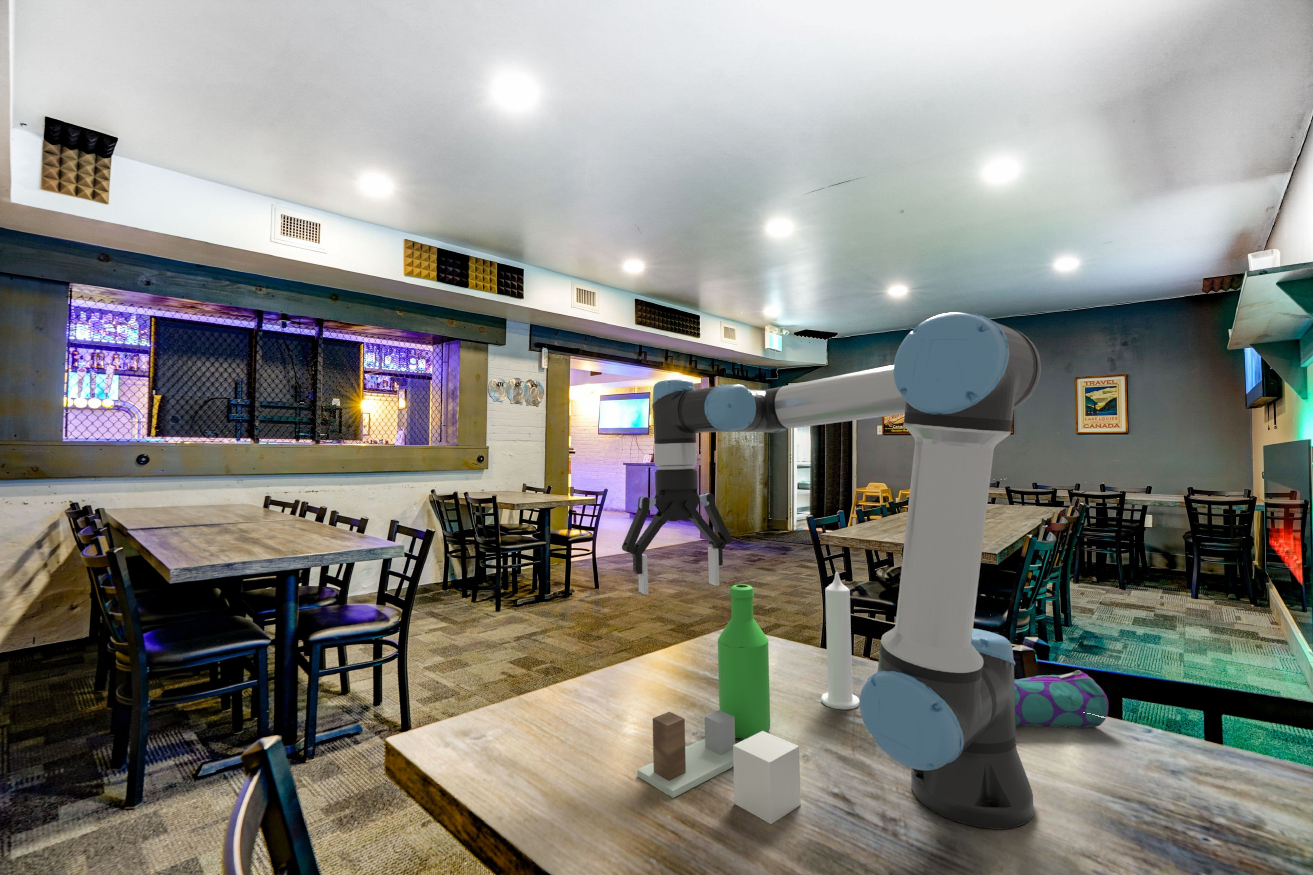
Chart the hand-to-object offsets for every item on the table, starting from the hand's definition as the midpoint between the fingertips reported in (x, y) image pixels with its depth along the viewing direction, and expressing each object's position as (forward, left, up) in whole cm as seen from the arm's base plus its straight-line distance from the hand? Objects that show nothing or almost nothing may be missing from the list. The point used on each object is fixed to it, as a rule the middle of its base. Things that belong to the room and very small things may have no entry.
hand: (679, 588), depth 108 cm
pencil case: (-40, -46, -25) cm, 66 cm away
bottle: (-7, -8, -25) cm, 27 cm away
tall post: (-10, +12, -25) cm, 29 cm away
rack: (-10, +7, -25) cm, 28 cm away
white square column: (-24, +7, -25) cm, 35 cm away
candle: (-12, -30, -25) cm, 41 cm away
